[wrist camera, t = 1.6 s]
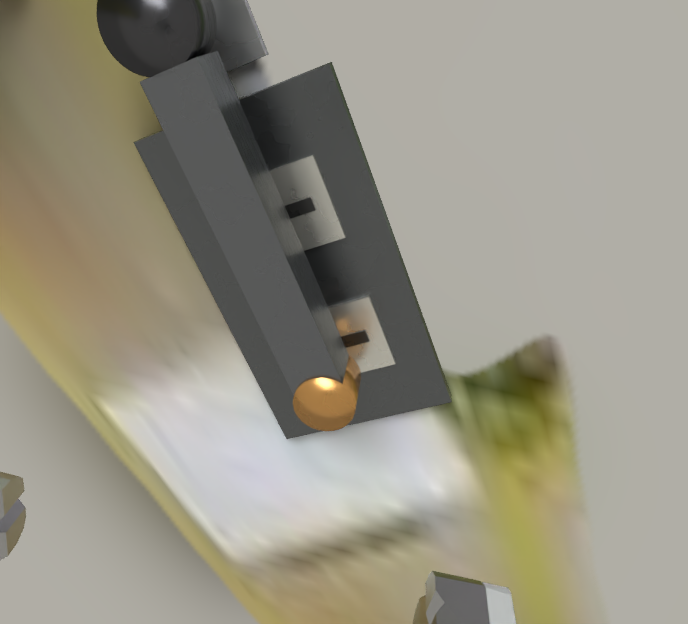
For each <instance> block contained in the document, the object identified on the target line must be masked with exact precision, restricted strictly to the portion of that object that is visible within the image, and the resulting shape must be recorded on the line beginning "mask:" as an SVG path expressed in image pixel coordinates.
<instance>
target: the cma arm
mask: <svg viewBox="0 0 688 624" xmlns="http://www.w3.org/2000/svg"><path fill="white" fill-rule="evenodd" d="M97 22H98V27H99V31H100V34H101V37H102V39H103V41H104V43H105V45H106V47H107V48H108V50H109V51H110V53H111V54H112V55H113V57H114V58H115V59H116V60H117V61H118V62H119V63H120V64H121V65H123V66H124V67H125V68H127V69H128V70H130V71H132V72H134V73H136V74H139V75H142V76H146V77H150V78H147V79H145V80H143V81H141V82H140V84H141V86H142V88H143V90H144V92H145V94H146V96H147V98H148V100H149V102H150V104H151V106H152V108H153V110H154V112H155V114H156V116H157V118H158V120H159V123H160V125H161V127H162V129H163V131H164V133H165V135H166V137H167V139H168V141H169V143H170V145H171V147H172V149H173V151H174V153H175V155H176V157H177V159H178V161H179V163H180V165H181V167H182V169H183V171H184V173H185V175H186V177H187V179H188V181H189V184H190V186H191V188H192V190H193V192H194V194H195V196H196V198H197V200H198V202H199V204H200V206H201V208H202V210H203V212H204V214H205V216H206V218H207V220H208V222H209V224H210V226H211V228H212V230H213V232H214V234H215V236H216V238H217V240H218V242H219V245H220V247H221V249H222V251H223V253H224V255H225V257H226V259H227V261H228V263H229V265H230V267H231V269H232V271H233V273H234V275H235V277H236V279H237V281H238V283H239V285H240V287H241V289H242V291H243V293H244V295H245V297H246V299H247V301H248V304H249V306H250V308H251V310H252V312H253V314H254V316H255V318H256V320H257V322H258V324H259V326H260V328H261V330H262V332H263V334H264V336H265V338H266V340H267V342H268V344H269V346H270V348H271V350H272V352H273V354H274V356H275V358H276V360H277V362H278V365H279V367H280V369H281V371H282V373H283V375H284V377H285V379H286V381H287V383H288V385H289V387H290V389H291V391H292V393H293V395H294V397H293V408H294V411H295V413H296V415H297V416H298V418H299V419H300V420H301V421H302V422H303V423H304V424H306V425H307V426H309V427H311V428H314V429H317V430H321V431H334V430H338V429H341V428H343V427H345V426H346V425H347V424H349V423H350V421H351V420H352V419H353V417H354V414H355V409H356V404H357V398H358V393H359V387H360V382H361V371H360V368H359V366H358V364H357V363H356V361H355V360H354V359H353V358H352V357H350V356H349V354H348V352H347V350H346V347H345V345H344V343H343V340H342V338H341V336H340V333H339V331H338V329H337V327H336V324H335V322H334V320H333V317H332V315H331V313H330V310H329V308H328V306H327V303H326V301H325V299H324V296H323V294H322V292H321V289H320V287H319V285H318V282H317V280H316V278H315V275H314V273H313V271H312V268H311V266H310V264H309V262H308V259H307V257H306V255H305V252H304V250H303V248H302V245H301V243H300V241H299V238H298V236H297V234H296V231H295V229H294V227H293V224H292V222H291V220H290V217H289V215H288V213H287V210H286V208H285V206H284V203H283V201H282V199H281V197H280V194H279V192H278V190H277V187H276V185H275V183H274V180H273V178H272V176H271V173H270V171H269V169H268V166H267V164H266V162H265V159H264V157H263V155H262V152H261V150H260V148H259V145H258V143H257V141H256V139H255V136H254V134H253V132H252V129H251V127H250V125H249V122H248V120H247V118H246V115H245V113H244V111H243V108H242V106H241V104H240V101H239V99H238V97H237V94H236V92H235V90H234V87H233V85H232V83H231V80H230V78H229V76H228V74H227V71H226V69H225V67H224V64H223V62H222V60H221V57H220V55H219V53H218V51H216V52H212V53H209V52H210V50H211V49H212V47H213V44H214V41H215V37H216V31H217V19H216V13H215V9H214V6H213V3H212V1H211V0H98V2H97Z"/></svg>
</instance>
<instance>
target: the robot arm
mask: <svg viewBox="0 0 688 624" xmlns="http://www.w3.org/2000/svg"><path fill="white" fill-rule="evenodd" d="M23 492H24V483H23V478H21V477H19V476H15V475H11V474H7V473H3V472H0V560H1V559H3V558H5V557H7V556H8V555H9V554H10V552H11V551H12V550H13V548H14V546H15V545H16V544H17V542H18V539H19V537H20V535H21V533H22V531H23V528H24V524H25V518H26V511H25V506H24V505H23V504H22V503H21V501H20V500H19V499H18V498H19V497H20V495H21V494H22V493H23ZM413 624H516V619H515V613H514V607H513V601H512V595H511V592H510V590H509V589H508V588H506V587H502V586H498V585H493V584H489V583H484V582H481V581H477V580H473V579H468V578H463V577H459V576H454V575H449V574H445V573H440V572H436V571H432V572H431V573H430V574H429V576H428V579H427V581H426V595H425V596H423V597H421V598H420V599H419V602H418V604H417V607H416V610H415V615H414V620H413Z"/></svg>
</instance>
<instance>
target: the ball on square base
mask: <svg viewBox="0 0 688 624" xmlns="http://www.w3.org/2000/svg"><path fill="white" fill-rule="evenodd" d="M211 1H212V3H213V6H214V9H215V13H216V19H217V31H216V37H215V41H214V44H213V47H212V49H211V50H210V52H209V53H212V52H216V51H218V53H219V55H220V57H221V60H222V62H223V64H224V67H225V69H226V71H227V72H228V71H230V70H232V69H235V68H237V67H239V66H242V65H244V64H247V63H249V62H251V61H254V60H256V59H258V58H261V57H263V56H266V55H268V52H267V49H266V47H265V44H264V41H263V39H262V37H261V34H260V31H259V29H258V26H257V24H256V22H255V19H254V16H253V14H252V11H251V9H250V6H249V4H248V1H247V0H211Z"/></svg>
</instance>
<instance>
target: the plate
mask: <svg viewBox="0 0 688 624" xmlns="http://www.w3.org/2000/svg"><path fill="white" fill-rule="evenodd" d="M239 101H240V104H241V106H242V108H243V111H244V113H245V115H246V118H247V120H248V122H249V125H250V127H251V129H252V132H253V134H254V136H255V139H256V141H257V143H258V145H259V148H260V150H261V152H262V155H263V157H264V159H265V162H266V164H267V166H268V169H269V171H270V173H271V176H272V178H273V180H274V183H275V185H276V187H277V190H278V192H279V194H280V197H281V199H282V201H283V203H284V206H285V208H286V210H287V213H288V215H289V217H290V220H291V222H292V224H293V227H294V229H295V231H296V234H297V236H298V238H299V241H300V243H301V245H302V248H303V250H304V252H305V255H306V257H307V259H308V262H309V264H310V266H311V268H312V271H313V273H314V275H315V278H316V280H317V282H318V285H319V287H320V289H321V292H322V294H323V296H324V299H325V301H326V303H327V306H328V308H329V310H330V313H331V315H332V317H333V320H334V322H335V324H336V327H337V329H338V331H339V333H340V336H341V338H342V340H343V343H344V345H345V347H346V350H347V352H348V354H349V356H350V357H352V358H353V359H354V360H355V361H356V363H357V364H358V366H359V368H360V371H361V382H360V387H359V393H358V398H357V404H356V409H355V414H354V417H353V419H352V420H351V421H350V423H349V424H347V425H351V424H356V423H360V422H365V421H369V420H374V419H378V418H383V417H387V416H391V415H396V414H400V413H405V412H409V411H414V410H418V409H423V408H427V407H432V406H436V405H441V404H445V403H450V402H452V401H451V393H450V390H449V387H448V385H447V382H446V379H445V376H444V373H443V371H442V368H441V365H440V362H439V360H438V357H437V354H436V351H435V348H434V346H433V343H432V340H431V337H430V334H429V332H428V329H427V326H426V323H425V321H424V318H423V315H422V312H421V309H420V307H419V304H418V301H417V298H416V296H415V293H414V290H413V287H412V285H411V282H410V279H409V276H408V273H407V271H406V268H405V265H404V263H403V259H402V257H401V254H400V251H399V248H398V245H397V243H396V240H395V237H394V234H393V232H392V229H391V226H390V223H389V220H388V218H387V215H386V212H385V209H384V207H383V204H382V201H381V198H380V195H379V193H378V190H377V187H376V184H375V181H374V179H373V176H372V173H371V170H370V168H369V165H368V162H367V159H366V156H365V154H364V151H363V148H362V145H361V142H360V140H359V137H358V134H357V131H356V129H355V126H354V123H353V120H352V118H351V115H350V112H349V109H348V107H347V104H346V101H345V98H344V95H343V92H342V90H341V87H340V84H339V81H338V79H337V76H336V73H335V70H334V67H333V65H332V62H330V63H327V64H325V65H322V66H320V67H318V68H315V69H313V70H310V71H308V72H305V73H303V74H300V75H298V76H295V77H293V78H290V79H288V80H285V81H283V82H280V83H278V84H276V85H273V86H271V87H268V88H266V89H263V90H261V91H258V92H256V93H253V94H251V95H248V96H246V97H243V98H241V99H239ZM134 144H135V146H136V148H137V150H138V152H139V154H140V156H141V158H142V160H143V161H144V163H145V165H146V167H147V169H148V171H149V173H150V175H151V177H152V179H153V181H154V183H155V185H156V187H157V189H158V190H159V192H160V194H161V196H162V198H163V200H164V202H165V204H166V206H167V208H168V210H169V212H170V214H171V216H172V218H173V220H174V221H175V223H176V225H177V227H178V229H179V231H180V233H181V235H182V237H183V239H184V241H185V243H186V245H187V247H188V249H189V251H190V252H191V254H192V256H193V258H194V260H195V262H196V264H197V266H198V268H199V270H200V272H201V274H202V276H203V278H204V280H205V281H206V283H207V285H208V287H209V289H210V291H211V293H212V295H213V297H214V299H215V301H216V303H217V305H218V307H219V309H220V311H221V312H222V314H223V316H224V318H225V320H226V322H227V324H228V326H229V328H230V330H231V332H232V334H233V336H234V338H235V340H236V342H237V343H238V345H239V347H240V349H241V351H242V353H243V355H244V357H245V359H246V361H247V363H248V365H249V367H250V369H251V371H252V373H253V374H254V376H255V378H256V380H257V382H258V384H259V386H260V388H261V390H262V392H263V394H264V396H265V398H266V400H267V402H268V403H269V405H270V407H271V409H272V411H273V413H274V415H275V417H276V419H277V421H278V423H279V425H280V427H281V429H282V431H283V433H284V434H285V436H286V438H287V439H289V438H293V437H298V436H302V435H307V434H311V433H316V432H320V431H321V430H317V429H314V428H311V427H309V426H307V425H306V424H304V423H303V422H302V421H301V420H300V419H299V418H298V416H297V415H296V413H295V411H294V408H293V397H294V395H293V393H292V391H291V389H290V387H289V385H288V383H287V381H286V379H285V377H284V375H283V373H282V371H281V369H280V367H279V365H278V362H277V360H276V358H275V356H274V354H273V352H272V350H271V348H270V346H269V344H268V342H267V340H266V338H265V336H264V334H263V332H262V330H261V328H260V326H259V324H258V322H257V320H256V318H255V316H254V314H253V312H252V310H251V308H250V306H249V304H248V301H247V299H246V297H245V295H244V293H243V291H242V289H241V287H240V285H239V283H238V281H237V279H236V277H235V275H234V273H233V271H232V269H231V267H230V265H229V263H228V261H227V259H226V257H225V255H224V253H223V251H222V249H221V247H220V245H219V242H218V240H217V238H216V236H215V234H214V232H213V230H212V228H211V226H210V224H209V222H208V220H207V218H206V216H205V214H204V212H203V210H202V208H201V206H200V204H199V202H198V200H197V198H196V196H195V194H194V192H193V190H192V188H191V186H190V184H189V181H188V179H187V177H186V175H185V173H184V171H183V169H182V167H181V165H180V163H179V161H178V159H177V157H176V155H175V153H174V151H173V149H172V147H171V145H170V143H169V141H168V139H167V137H166V135H165V133H164V131H163V130H162V131H159V132H157V133H154V134H152V135H149V136H147V137H144V138H142V139H140V140H138V141H136V142H134ZM347 425H346V426H347Z"/></svg>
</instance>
